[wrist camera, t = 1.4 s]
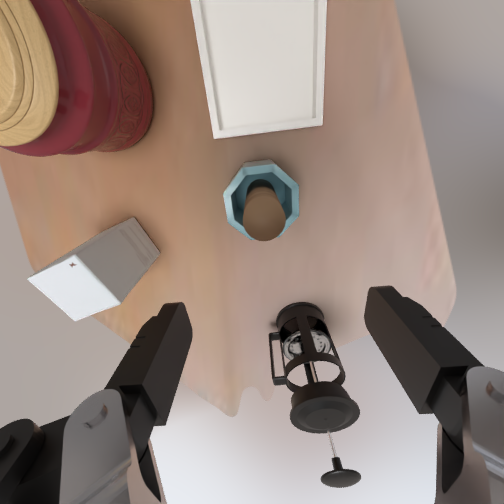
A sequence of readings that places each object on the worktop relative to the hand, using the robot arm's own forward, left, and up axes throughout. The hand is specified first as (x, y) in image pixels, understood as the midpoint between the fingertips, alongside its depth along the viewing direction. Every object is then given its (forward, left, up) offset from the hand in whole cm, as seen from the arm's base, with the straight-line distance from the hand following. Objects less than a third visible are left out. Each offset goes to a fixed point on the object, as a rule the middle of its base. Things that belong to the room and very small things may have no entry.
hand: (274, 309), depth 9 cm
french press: (+26, +5, -25) cm, 36 cm away
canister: (-14, -18, -25) cm, 34 cm away
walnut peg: (0, 0, -24) cm, 24 cm away
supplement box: (+6, -22, -25) cm, 34 cm away
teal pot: (0, 0, -24) cm, 25 cm away
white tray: (-15, +2, -24) cm, 29 cm away
